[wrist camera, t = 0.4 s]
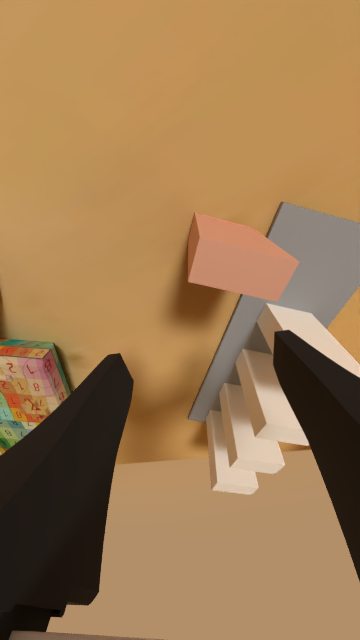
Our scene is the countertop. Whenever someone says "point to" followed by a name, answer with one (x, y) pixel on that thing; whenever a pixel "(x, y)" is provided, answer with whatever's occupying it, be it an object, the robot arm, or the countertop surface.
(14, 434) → the puzzle game
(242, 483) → the domino
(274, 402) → the domino
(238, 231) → the domino
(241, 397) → the domino
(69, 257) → the countertop surface
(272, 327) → the domino
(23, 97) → the countertop surface
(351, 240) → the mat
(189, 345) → the countertop surface
